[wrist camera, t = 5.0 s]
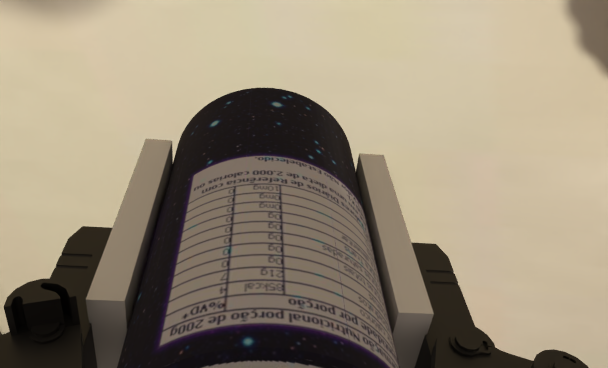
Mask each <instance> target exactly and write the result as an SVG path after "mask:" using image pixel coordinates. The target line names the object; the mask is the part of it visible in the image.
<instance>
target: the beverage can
mask: <svg viewBox="0 0 608 368" xmlns="http://www.w3.org/2000/svg"><path fill="white" fill-rule="evenodd" d="M117 368H400V365H399V361H398V357H397V352H396V348H395V343H394V339H393V335H392V330H391V326H390V321H389V317H388V313H387V308H386V304H385V299H384V295H383V290H382V286H381V282H380V277H379V273H378V268H377V264H376V260H375V255H374V251H373V246H372V242H371V238H370V233H369V229H368V224H367V220H366V215H365V211H364V207H363V202H362V198H361V193H360V189H359V185H358V180H357V176H356V171H355V167H354V163H353V158H352V154H351V149H350V146H349V142H348V140H347V137H346V135H345V133H344V131H343V129H342V128H341V126H340V125H339V123H338V122H337V121H336V120H335V118H334V117H333V116H332V115H331V114H330V113H329V112H328V111H327V110H325V109H324V108H323V107H322V106H320V105H319V104H317V103H316V102H314V101H312V100H310V99H309V98H307V97H304V96H302V95H300V94H297V93H294V92H290V91H286V90H282V89H275V88H251V89H244V90H240V91H236V92H233V93H229V94H227V95H224V96H222V97H220V98H218V99H216V100H214V101H213V102H211V103H209V104H208V105H207V106H205V107H204V108H203V109H201V110H200V111H199V112H198V113H197V114H196V115H195V116H194V117H193V118H192V120H191V121H190V122H189V124H188V125H187V126H186V128H185V130H184V131H183V134H182V136H181V138H180V141H179V144H178V147H177V151H176V155H175V158H174V162H173V166H172V169H171V173H170V177H169V180H168V184H167V187H166V191H165V195H164V198H163V202H162V206H161V209H160V213H159V217H158V220H157V224H156V227H155V231H154V235H153V238H152V242H151V246H150V249H149V253H148V257H147V260H146V264H145V268H144V271H143V275H142V278H141V282H140V286H139V289H138V293H137V297H136V300H135V304H134V308H133V311H132V315H131V318H130V322H129V326H128V329H127V333H126V337H125V340H124V344H123V348H122V351H121V355H120V359H119V362H118V366H117Z"/></svg>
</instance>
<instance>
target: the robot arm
mask: <svg viewBox="0 0 608 368" xmlns="http://www.w3.org/2000/svg"><path fill="white" fill-rule="evenodd" d="M172 166H173V161H172V141H169V140H154V139H146V140H145V143H144V145H143V148H142V151H141V153H140V156H139V159H138V161H137V164H136V167H135V169H134V172H133V175H132V177H131V180H130V183H129V185H128V188H127V191H126V193H125V196H124V199H123V201H122V204H121V207H120V209H119V212H118V215H117V217H116V220H115V223H114V225H113V228H104V227H85V226H83V227H81V228H80V229H79V230H78V231H77V232H76V233H74V234H73V235H72V236H71V237H70V238H69V239H68V241H67V243H66V245H65V247H64V249H63V251H62V256H60V258H59V260H58V262H57V264H56V268H55V269H54V271H53V273H52V275H51V277H50V279H39V280H36V281H32V282H28V283H26V284H24V285H22V286H20V287H19V288H17V289H15V290H14V291H13V292H12V293H11V294H10V295H9V296H8V297H7V300H6V302H5V305H4V310H5V314H6V318H7V322H8V326H9V330H10V332H8V333H6V334H3V335H2V334H1V333H0V368H117V366H118V362H119V359H120V355H121V351H122V348H123V344H124V340H125V337H126V333H127V329H128V326H129V322H130V318H131V315H132V311H133V308H134V304H135V300H136V297H137V293H138V289H139V286H140V282H141V278H142V275H143V271H144V268H145V264H146V260H147V257H148V253H149V249H150V246H151V242H152V238H153V235H154V231H155V227H156V224H157V220H158V217H159V213H160V209H161V206H162V202H163V198H164V195H165V191H166V187H167V184H168V180H169V177H170V173H171V169H172ZM356 176H357V180H358V185H359V189H360V193H361V198H362V202H363V207H364V211H365V215H366V220H367V224H368V229H369V233H370V238H371V242H372V246H373V251H374V255H375V260H376V264H377V268H378V273H379V277H380V282H381V286H382V290H383V295H384V299H385V304H386V308H387V313H388V317H389V321H390V326H391V330H392V335H393V339H394V343H395V348H396V352H397V357H398V361H399V365H400V368H588V366H587V365H585V364H584V363H583V362H582V361H580V360H579V359H578V358H576V357H574V356H572V355H570V354H568V353H566V352H563V351H558V350H544V351H542V352H540V353H539V354H537V355H536V357H535V359H534V361H531V360H528V359H525V358H521V357H518V356H515V355H511V354H508V353H506V352H503V351H501V350H499V349H497V348H495V345H494V343H493V342H492V340H491V339H490V338H489V337H488V335H487V334H485V333H484V332H483V331H481V330H480V329H478V328H476V327H475V325H474V323H473V320H472V318H471V315H470V312H469V310H468V307H467V305H466V302H465V299H464V297H463V294H462V292H461V289H460V287H459V285H458V281H457V279H456V276H455V274H453V268H452V266H451V263H450V261H449V258H448V256H447V255H446V254H445V253H444V252H443V251H442V250H441V249H440V248H439V247H438V246H437V245H436V244H426V243H411V240H410V237H409V234H408V231H407V228H406V224H405V221H404V218H403V215H402V212H401V209H400V205H399V202H398V199H397V196H396V193H395V190H394V186H393V183H392V180H391V177H390V174H389V171H388V167H387V164H386V161H385V158H384V155H374V154H359V158H358V163H357V169H356Z"/></svg>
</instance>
